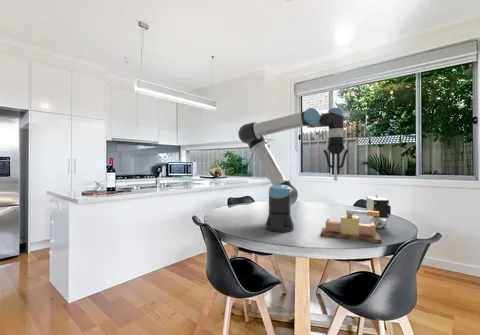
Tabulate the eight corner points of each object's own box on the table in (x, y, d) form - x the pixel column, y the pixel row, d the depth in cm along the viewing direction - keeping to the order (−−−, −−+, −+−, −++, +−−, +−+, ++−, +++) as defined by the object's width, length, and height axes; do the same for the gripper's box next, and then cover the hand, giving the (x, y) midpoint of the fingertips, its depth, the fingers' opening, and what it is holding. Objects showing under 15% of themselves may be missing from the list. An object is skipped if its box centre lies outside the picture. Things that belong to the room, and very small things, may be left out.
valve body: (325, 233, 121) (325, 214, 121) (326, 229, 129) (326, 211, 128) (375, 239, 112) (376, 218, 112) (374, 234, 120) (374, 215, 120)
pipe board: (320, 236, 120) (320, 233, 120) (322, 230, 131) (322, 227, 131) (381, 243, 110) (381, 239, 110) (378, 235, 121) (378, 232, 121)
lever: (346, 214, 120) (346, 210, 119) (346, 213, 122) (346, 208, 122) (379, 217, 114) (379, 212, 114) (378, 215, 117) (378, 211, 117)
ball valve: (392, 231, 129) (393, 197, 128) (375, 230, 130) (375, 197, 130) (380, 223, 146) (380, 193, 146) (365, 222, 148) (365, 193, 148)
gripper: (322, 136, 133) (322, 180, 133) (349, 135, 127) (348, 181, 128) (323, 138, 139) (323, 179, 140) (348, 137, 134) (348, 180, 135)
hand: (335, 180), depth 134 cm, fingers closed
